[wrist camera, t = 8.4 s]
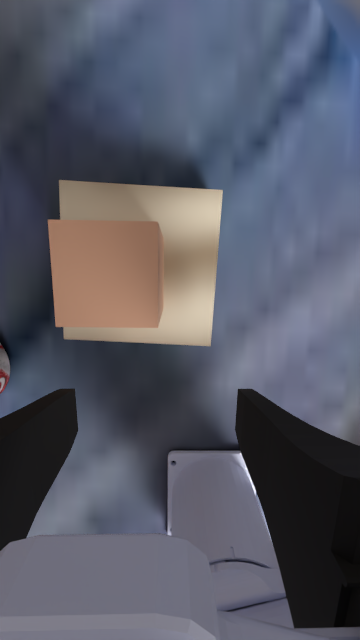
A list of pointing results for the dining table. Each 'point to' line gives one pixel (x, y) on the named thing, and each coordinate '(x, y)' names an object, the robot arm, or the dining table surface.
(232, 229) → the dining table surface
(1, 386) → the soda can
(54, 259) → the terracotta block
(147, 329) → the birch base
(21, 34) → the dining table surface
